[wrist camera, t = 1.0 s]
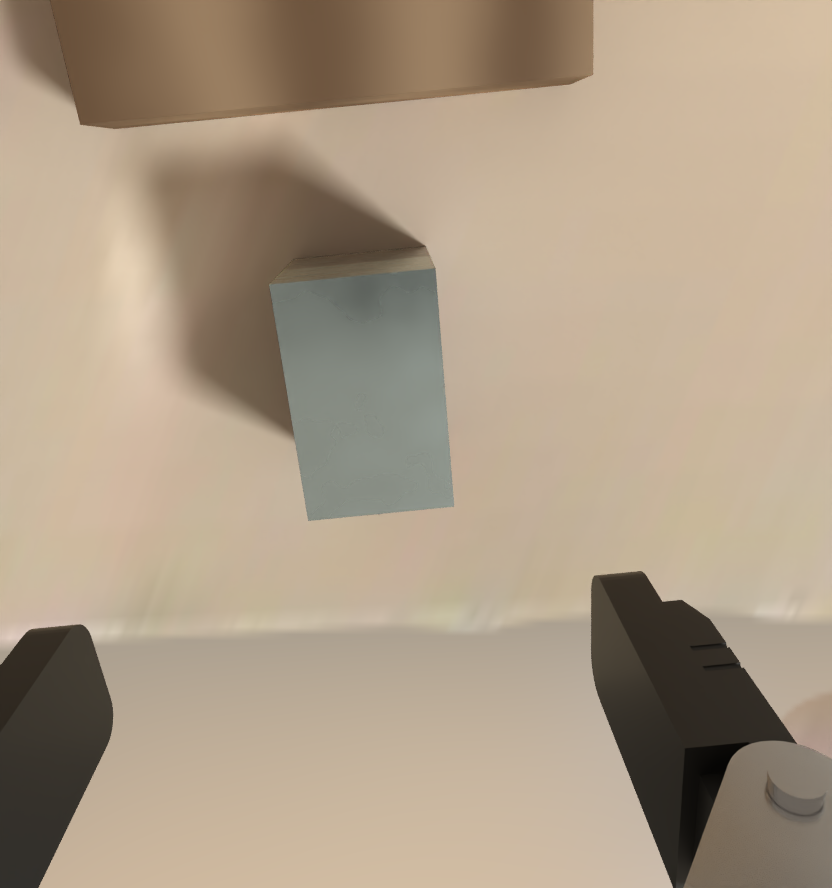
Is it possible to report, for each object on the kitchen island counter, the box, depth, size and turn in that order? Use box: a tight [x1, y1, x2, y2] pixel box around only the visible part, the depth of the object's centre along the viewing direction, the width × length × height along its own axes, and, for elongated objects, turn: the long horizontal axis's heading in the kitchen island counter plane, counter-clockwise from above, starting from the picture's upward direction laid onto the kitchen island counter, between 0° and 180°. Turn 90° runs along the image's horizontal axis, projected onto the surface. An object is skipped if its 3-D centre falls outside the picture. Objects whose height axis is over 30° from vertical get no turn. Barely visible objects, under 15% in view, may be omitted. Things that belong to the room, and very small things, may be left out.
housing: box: [269, 246, 454, 521], centre depth 25 cm, size 5×8×6 cm, turn 5°
